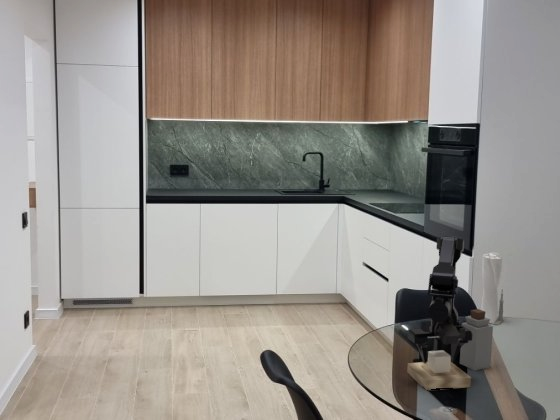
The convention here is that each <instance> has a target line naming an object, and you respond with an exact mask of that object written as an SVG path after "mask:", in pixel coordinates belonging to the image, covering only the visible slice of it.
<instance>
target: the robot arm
mask: <svg viewBox="0 0 560 420" xmlns="http://www.w3.org/2000/svg"><path fill="white" fill-rule="evenodd" d="M464 247H465V240H464V239H462V238H461V237H459V236H454V235H441V236H440V237H437V238H436V250H438V257H439V258H438V261H437V262H438V263H437V264H436V265H434V266H433V268H432V271H431V272H432V273H430V274H429V277H428V278H429V280H428V286H427V287H428V288H427V296H430V297H431V303H430V305H429V307H428V310H427V312H428V313H427V315H428V316H429V318H430V325H429V326H428V330H430V331H426V332H425V331H424V330H423V329H421V328H415V329H414V328H413V329H412V328H411V329H409V330H408V332H407V339H408V340H409V341H410V342H411V343H413V344H414V345H416V346H417V349H418V351H419V353H420V357H421V359H422V362H423V363H424V364H426V362H427V361H428V351H427V348H428V346H429V344H428V343H427V342H428V340H430V339H434V340H433V341H434V342H433V347H432V350H433V351H441V350H444V351H445V352H446V353H447V354H449V355H450V356H451V362H452V363H453V362H455V361H456V359H457V356H458V355H459V352H460V348H461V347H462V345H464V344H465V343H468V341H472V340H473V334H472V332H471V331H470V330H469V329H467V328H466V327H464V326H462V323H461V321H460V320H461V319H459V313H458V311H457V308H456V307H455V305H454V304H455V296H456V295H457V294H458V286H459V279H458V276H457V275H456V272H457V271H456V269H457V267H456V266H457V262H458V261H459V260H460V259H461V256H462V252H464Z"/></svg>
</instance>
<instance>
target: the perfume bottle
mask: <svg viewBox="0 0 560 420" xmlns="http://www.w3.org/2000/svg"><path fill="white" fill-rule="evenodd" d="M465 321H466V322H462V323H461V326H464V327H466V328H467V329H469V330H470V331H471V332H472V334H473V340H472V341H468V343H465V344H464V345H462V347H461V348H460V350H459V352H460V353H459V364H460V365H462V366H465V367H466V368H469V369H471V371H478V370H483V369H489V368H491V366H492V365H491V364H492V352H493V351H492V350H493V332H494V326H493V325H492V324H489V321H490V319H489V318H486V317H485V311H482V310H481V308H480V309H479V308H477V309H471V310H470V315H467V316H465Z"/></svg>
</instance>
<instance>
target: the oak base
mask: <svg viewBox="0 0 560 420" xmlns="http://www.w3.org/2000/svg"><path fill="white" fill-rule="evenodd" d="M427 366H428V361H426V364H424V363H423V361H420V362H419V361H418V362H408V363H407V369H406V371H407V374H408V375H409V376H410V377H412V379H414V380H415V382H416V383H418V384H419V386H421V387H422V386H423V387H424V388H425V389H426V390H428V391H432V390H431V389H436V388H453V389H461V388H463V389H465V388H471V383H472V380H471V379H472V377H471V375H468V374H467V373H466V372H465V371H463V370H462V369H461V368H460V367H458V366H457V365H456V364H455V363H453V361H451V362H450V372H444V373H434V372H433V371H431V370H430V369H429V368H428V367H427ZM423 387H422V388H423ZM424 388H423V389H424ZM425 389H424V390H425ZM426 390H425V391H426Z"/></svg>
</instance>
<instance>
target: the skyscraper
mask: <svg viewBox="0 0 560 420" xmlns="http://www.w3.org/2000/svg"><path fill="white" fill-rule="evenodd" d="M481 265H482V267H481V275H482V276H481V279H482V280H481V281H482V288H483V290H482V296H481V306H480V310H482V311H485V317H486V318H489V319H490V321H489V325H491V326H493V325H494V326H500V324H502V323H503V322H504V317H503V316H504V297H503V296H504V294H503V289H501V294H500V300H499V291H498V287H499V283H500V279H501V275H502V274H501V273H502V267H503V256H501V254H500V253H498V252H489V253H484V254H482V264H481Z"/></svg>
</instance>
